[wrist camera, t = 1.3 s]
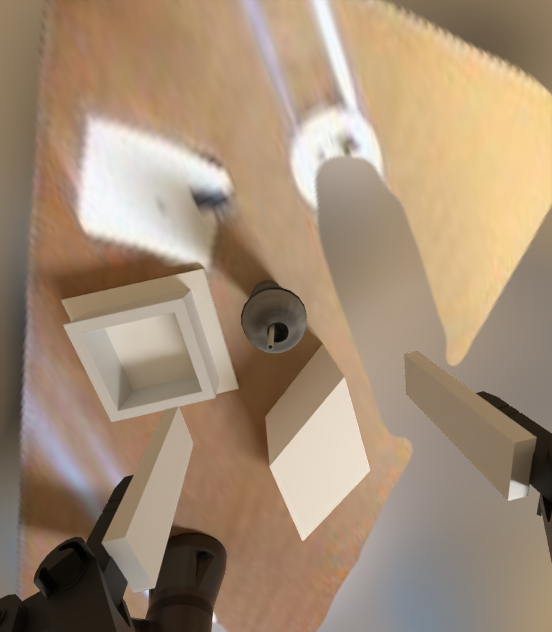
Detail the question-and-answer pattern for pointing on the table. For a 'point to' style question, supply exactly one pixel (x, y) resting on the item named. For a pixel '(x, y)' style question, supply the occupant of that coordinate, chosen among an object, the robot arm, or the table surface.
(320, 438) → the block
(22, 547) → the table surface
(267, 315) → the beverage cup
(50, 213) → the table surface
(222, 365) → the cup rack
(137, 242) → the table surface
